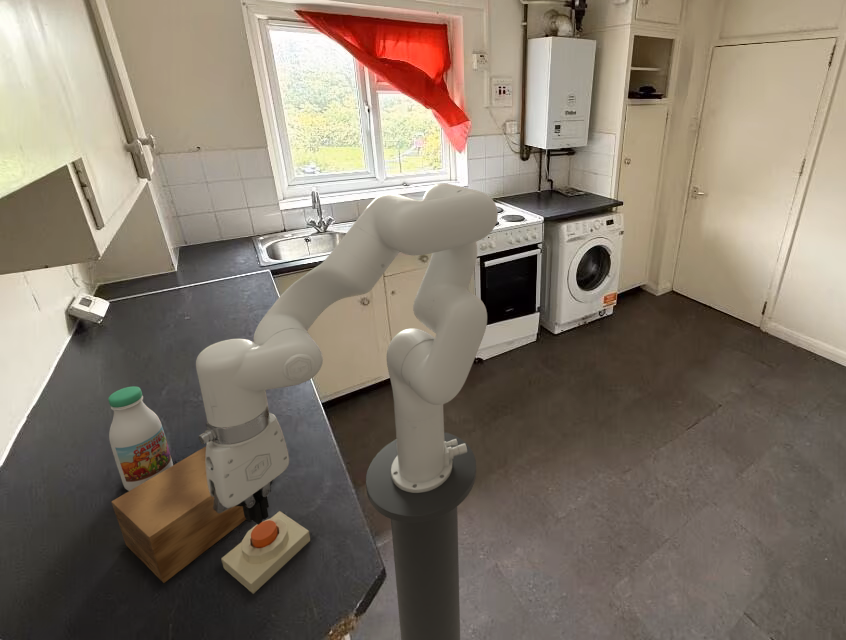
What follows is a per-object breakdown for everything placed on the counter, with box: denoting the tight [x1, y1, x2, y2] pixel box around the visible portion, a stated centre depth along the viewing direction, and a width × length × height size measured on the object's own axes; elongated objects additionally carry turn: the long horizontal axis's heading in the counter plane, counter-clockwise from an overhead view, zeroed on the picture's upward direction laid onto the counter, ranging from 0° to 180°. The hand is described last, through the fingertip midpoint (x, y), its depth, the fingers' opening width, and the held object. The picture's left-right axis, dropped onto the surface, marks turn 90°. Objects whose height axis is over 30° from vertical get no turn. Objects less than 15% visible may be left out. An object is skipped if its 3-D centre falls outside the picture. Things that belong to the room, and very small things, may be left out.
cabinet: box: [111, 446, 247, 584], centre depth 73 cm, size 15×13×10 cm
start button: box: [251, 519, 278, 548], centre depth 69 cm, size 4×4×2 cm
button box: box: [221, 510, 311, 595], centre depth 70 cm, size 10×8×4 cm
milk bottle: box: [107, 385, 174, 492], centre depth 82 cm, size 8×8×20 cm
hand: (257, 516), depth 68 cm, fingers closed
